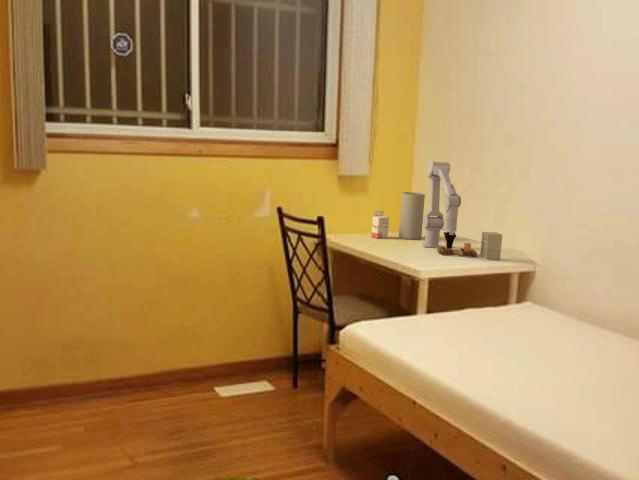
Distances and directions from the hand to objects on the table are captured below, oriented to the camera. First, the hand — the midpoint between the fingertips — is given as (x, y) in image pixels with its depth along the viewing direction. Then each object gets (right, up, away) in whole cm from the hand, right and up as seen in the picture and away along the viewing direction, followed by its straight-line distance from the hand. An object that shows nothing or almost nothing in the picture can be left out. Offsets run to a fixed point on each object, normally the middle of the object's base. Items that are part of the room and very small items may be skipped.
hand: (448, 247), depth 330 cm
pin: (+9, -4, 0) cm, 10 cm away
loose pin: (0, -2, 0) cm, 2 cm away
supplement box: (+19, -6, -5) cm, 20 cm away
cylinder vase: (-13, +5, +47) cm, 49 cm away
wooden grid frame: (+5, -3, +3) cm, 6 cm away
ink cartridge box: (-30, +5, +43) cm, 52 cm away
